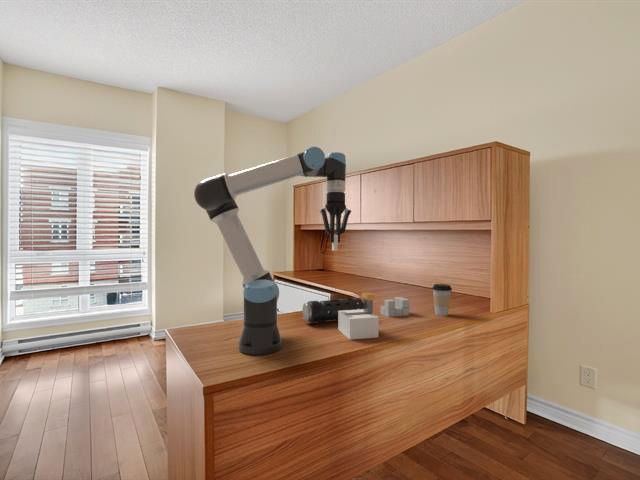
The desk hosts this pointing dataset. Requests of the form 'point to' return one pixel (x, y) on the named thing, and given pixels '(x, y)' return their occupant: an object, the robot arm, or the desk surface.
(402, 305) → the puzzle cube
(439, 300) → the coffee cup
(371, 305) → the breaker toggle
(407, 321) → the desk surface
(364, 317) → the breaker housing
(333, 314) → the muzzle brake
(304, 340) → the desk surface
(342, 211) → the robot arm
